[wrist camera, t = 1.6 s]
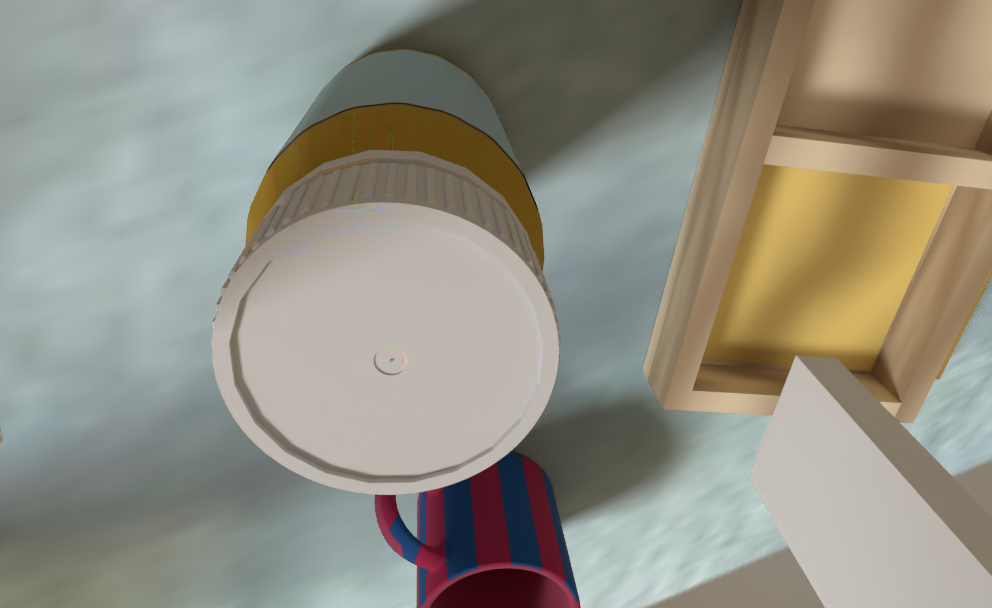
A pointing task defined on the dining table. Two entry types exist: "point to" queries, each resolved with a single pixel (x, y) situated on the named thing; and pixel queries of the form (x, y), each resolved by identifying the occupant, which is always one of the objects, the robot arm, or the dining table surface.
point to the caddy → (834, 205)
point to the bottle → (390, 287)
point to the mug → (486, 541)
